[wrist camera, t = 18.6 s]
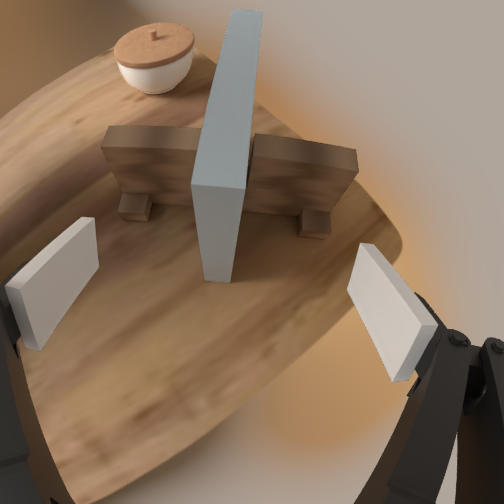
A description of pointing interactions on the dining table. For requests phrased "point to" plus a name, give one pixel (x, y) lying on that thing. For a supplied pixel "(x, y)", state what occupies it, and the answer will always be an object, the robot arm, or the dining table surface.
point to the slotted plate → (226, 146)
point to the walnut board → (257, 181)
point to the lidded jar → (155, 56)
